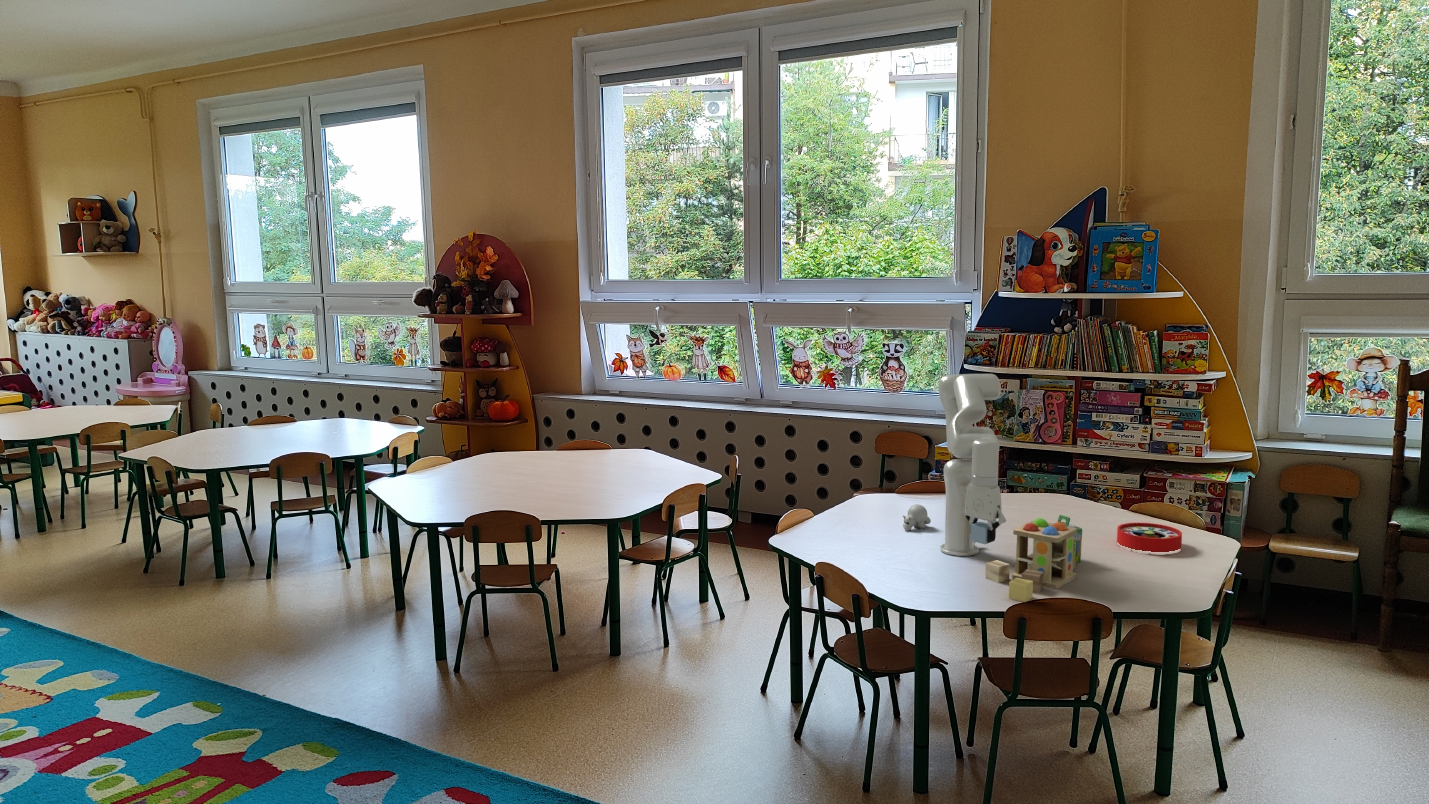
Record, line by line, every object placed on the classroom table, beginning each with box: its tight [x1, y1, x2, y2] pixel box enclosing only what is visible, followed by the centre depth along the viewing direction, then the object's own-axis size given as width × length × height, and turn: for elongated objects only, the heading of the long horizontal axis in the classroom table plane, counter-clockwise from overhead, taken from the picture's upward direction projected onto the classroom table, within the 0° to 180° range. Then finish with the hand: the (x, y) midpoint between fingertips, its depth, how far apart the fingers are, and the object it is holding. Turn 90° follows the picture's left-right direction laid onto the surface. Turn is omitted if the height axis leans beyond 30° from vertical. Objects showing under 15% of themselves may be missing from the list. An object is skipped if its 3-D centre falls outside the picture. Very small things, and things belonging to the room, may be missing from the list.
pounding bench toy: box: [1011, 517, 1077, 590], centre depth 288 cm, size 23×14×18 cm, turn 135°
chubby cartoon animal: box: [902, 504, 932, 532], centre depth 343 cm, size 7×12×8 cm, turn 125°
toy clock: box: [1116, 522, 1183, 552], centre depth 317 cm, size 20×6×20 cm
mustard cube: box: [1008, 578, 1034, 603], centre depth 269 cm, size 5×5×5 cm
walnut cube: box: [1022, 569, 1044, 594], centre depth 277 cm, size 5×5×5 cm
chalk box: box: [1052, 514, 1083, 565], centre depth 302 cm, size 9×9×15 cm
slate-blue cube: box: [971, 520, 989, 545], centre depth 278 cm, size 5×5×5 cm
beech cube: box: [985, 559, 1011, 584], centre depth 286 cm, size 5×5×5 cm
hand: (982, 538), depth 278 cm, fingers closed on slate-blue cube, 4 cm apart
